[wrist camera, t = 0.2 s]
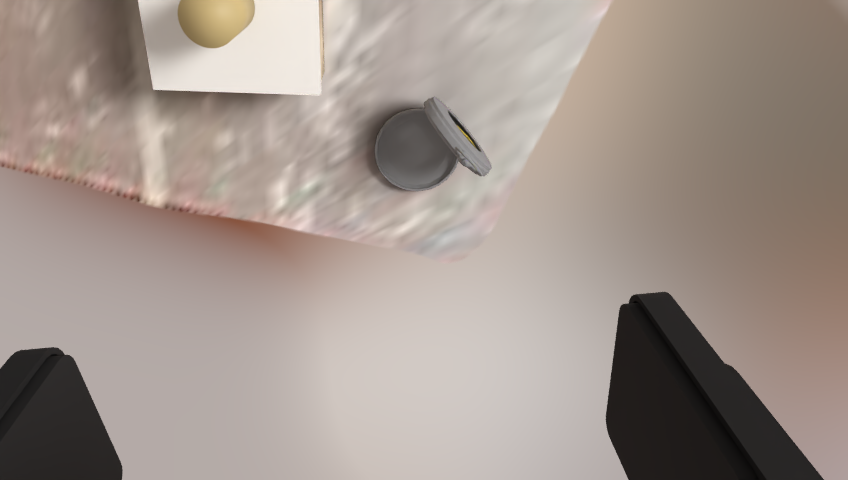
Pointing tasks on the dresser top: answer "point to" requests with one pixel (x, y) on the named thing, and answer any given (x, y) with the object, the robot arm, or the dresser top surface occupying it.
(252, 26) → the lid
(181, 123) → the dresser top surface
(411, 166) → the pocket watch
